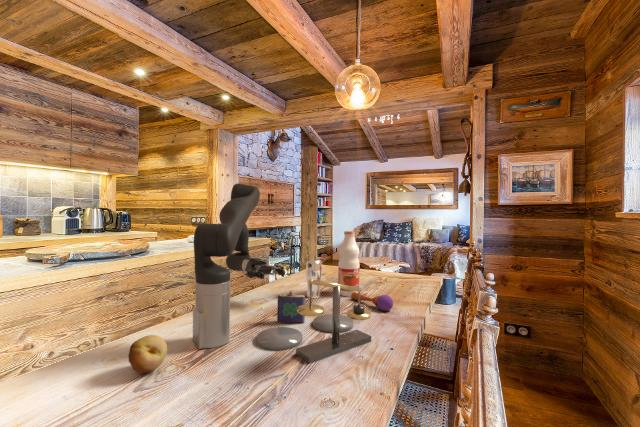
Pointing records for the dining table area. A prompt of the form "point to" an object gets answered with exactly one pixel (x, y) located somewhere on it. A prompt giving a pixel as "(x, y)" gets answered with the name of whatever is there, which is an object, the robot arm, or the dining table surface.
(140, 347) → the fruit
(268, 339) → the gray domed disc
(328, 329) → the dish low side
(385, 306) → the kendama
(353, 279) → the fruit juice
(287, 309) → the flask
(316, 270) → the beer glass
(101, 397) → the dining table surface
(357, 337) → the balance
